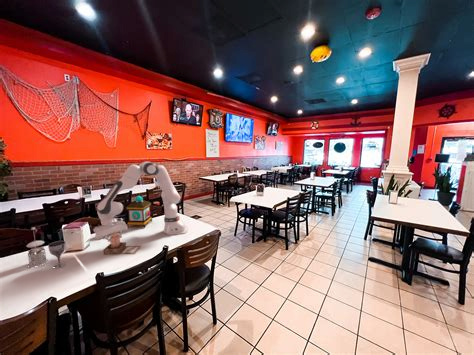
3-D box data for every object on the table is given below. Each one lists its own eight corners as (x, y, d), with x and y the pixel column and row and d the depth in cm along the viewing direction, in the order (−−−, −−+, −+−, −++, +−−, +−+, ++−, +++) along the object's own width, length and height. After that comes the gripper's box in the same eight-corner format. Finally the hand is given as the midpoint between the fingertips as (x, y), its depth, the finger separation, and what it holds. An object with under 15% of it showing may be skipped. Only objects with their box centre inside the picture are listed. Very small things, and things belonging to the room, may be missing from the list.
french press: (29, 269, 118) (23, 232, 115) (24, 263, 124) (19, 227, 121) (50, 262, 127) (46, 226, 123) (45, 256, 133) (40, 222, 129)
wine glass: (48, 270, 118) (45, 247, 116) (53, 263, 125) (51, 242, 123) (65, 266, 122) (62, 245, 120) (69, 260, 129) (66, 239, 127)
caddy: (141, 247, 149) (141, 241, 148) (134, 255, 137) (134, 249, 136) (112, 247, 147) (112, 241, 146) (102, 256, 135) (102, 250, 135)
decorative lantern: (124, 228, 182) (122, 198, 177) (135, 220, 201) (133, 193, 197) (145, 228, 182) (144, 198, 177) (154, 221, 202) (153, 193, 197)
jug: (109, 246, 141) (108, 233, 139) (118, 243, 145) (117, 231, 144) (113, 250, 136) (112, 236, 134) (122, 247, 141) (121, 233, 139)
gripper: (93, 225, 134) (99, 243, 130) (124, 217, 150) (130, 232, 146) (91, 230, 138) (97, 246, 133) (122, 221, 154) (128, 236, 149)
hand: (115, 239), depth 140 cm, fingers closed on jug, 6 cm apart
